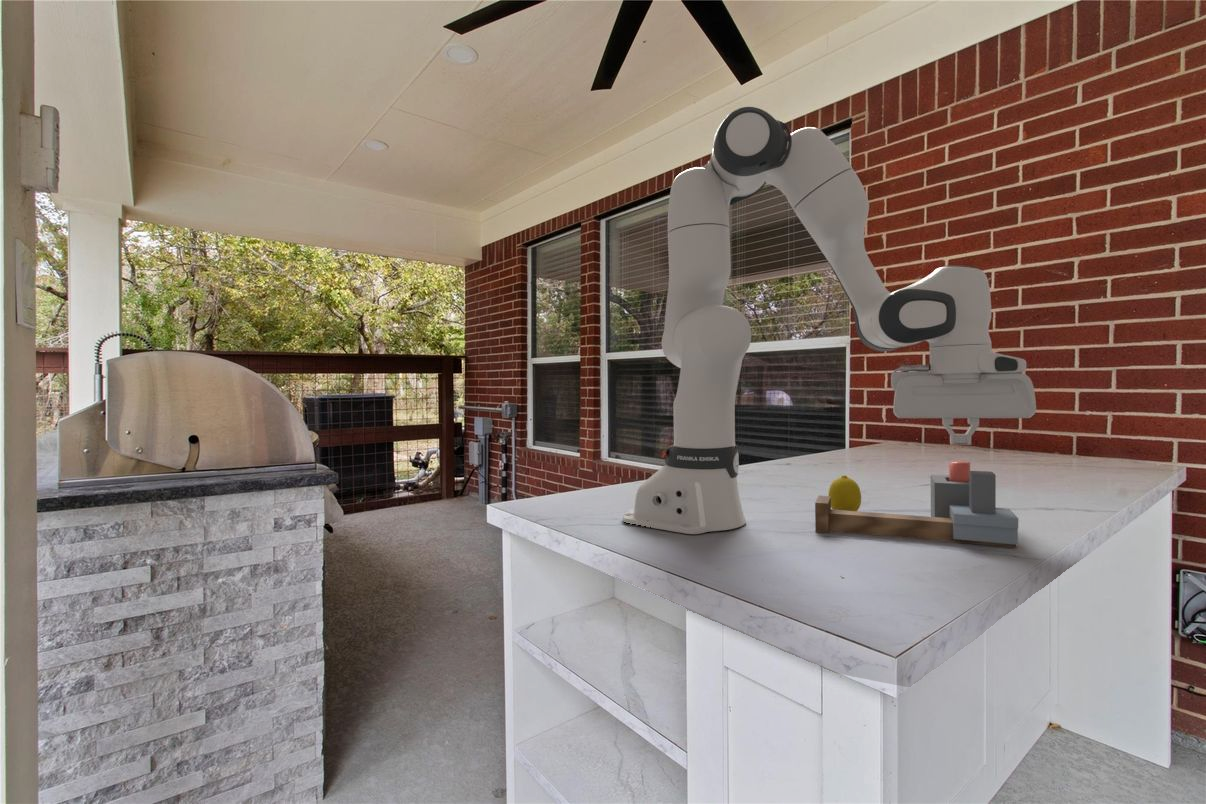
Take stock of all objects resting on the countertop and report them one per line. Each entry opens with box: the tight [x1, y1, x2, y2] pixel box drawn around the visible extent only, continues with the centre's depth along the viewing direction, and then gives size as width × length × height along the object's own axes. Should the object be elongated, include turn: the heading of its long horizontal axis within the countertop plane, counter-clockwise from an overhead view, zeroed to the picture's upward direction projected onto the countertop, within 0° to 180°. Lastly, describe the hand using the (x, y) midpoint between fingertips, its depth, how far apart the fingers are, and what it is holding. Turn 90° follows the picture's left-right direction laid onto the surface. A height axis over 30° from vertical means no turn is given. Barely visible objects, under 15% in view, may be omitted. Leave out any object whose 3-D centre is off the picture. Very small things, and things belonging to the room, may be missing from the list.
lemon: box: [828, 475, 862, 511], centre depth 102 cm, size 6×6×8 cm
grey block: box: [930, 474, 969, 518], centre depth 95 cm, size 8×8×8 cm
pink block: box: [948, 460, 971, 482], centre depth 95 cm, size 3×3×6 cm
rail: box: [814, 495, 1017, 548], centre depth 90 cm, size 28×6×5 cm, turn 63°
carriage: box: [949, 470, 1019, 546], centre depth 86 cm, size 8×6×10 cm
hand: (960, 444), depth 94 cm, fingers closed
